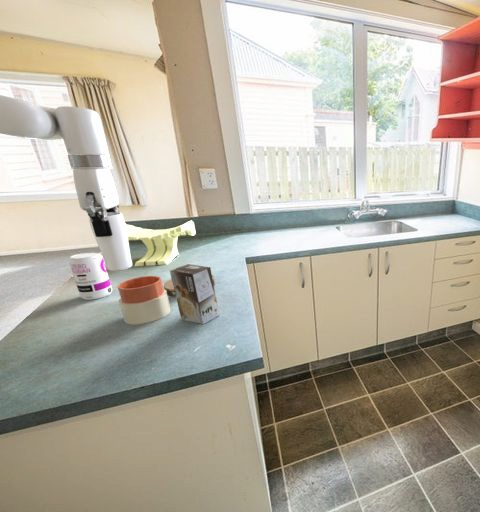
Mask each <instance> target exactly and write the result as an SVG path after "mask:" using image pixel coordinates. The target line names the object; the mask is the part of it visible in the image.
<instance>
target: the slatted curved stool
mask: <svg viewBox="0 0 480 512" xmlns="http://www.w3.org/2000/svg"><path fill="white" fill-rule="evenodd" d="M125 224H126V229H127V235H128V241H137V240H140V241H142V243H143V244H144V245H145V247H146V249H147V251H146V253H145V254H144V256H143V257H141V258H140V259H138V260H137V261H136V262H134V263H135V264H134V267H144V266H146V267H147V266H157V265H158V266H165V265H169V264H170V263H171V262H173V261H174V260H175V259H176V258H175V257H176V256H177V255H179V256H180V254H179V250H178V237H180V236H187V235H188V236H191V237H193V236H195V235H196V234H197V232H196V226H195V222H194V221H193V220H189V221H187V222H185V223H183V224H181V225H178V226H176V227H171V228H166V229H165V228H164V229H150V228H142V227H138V226H135V225H132V224H127V223H126V222H125ZM174 258H175V259H174ZM173 259H174V260H173ZM172 260H173V261H172Z"/></svg>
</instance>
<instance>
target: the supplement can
mask: <svg viewBox="0 0 480 512" xmlns="http://www.w3.org/2000/svg"><path fill="white" fill-rule="evenodd" d="M68 264H69V266H70V271H71V273H72V276H73V279H74V283H75V285H76V287H77V290H78V294H79V296H80V298H81V299H83V300H86V301H91V300H92V301H93V300H98V299H102V298H105V297H107V296H109V295H111V294H112V292H113V288H112V284H111V280H110V277H109V273H108V269H107V266H106V263H105V261H104V258H103V256H102V254H100V252H97V251H89V252H81V253H77V254H74V255H73V254H72V255H71V256H70V257H69V261H68Z"/></svg>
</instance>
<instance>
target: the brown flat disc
mask: <svg viewBox="0 0 480 512" xmlns="http://www.w3.org/2000/svg"><path fill="white" fill-rule="evenodd" d="M212 279H213V284H214V287H215V286H216V281H215V277H214V275H213V274H212ZM163 289H165V290H166V291H167V295H168V297H171V298H176V295H175V291H174V287H173V282H172V278H170V279H168V280H167V281H166V282H164V283H163Z"/></svg>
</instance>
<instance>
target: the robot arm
mask: <svg viewBox="0 0 480 512" xmlns="http://www.w3.org/2000/svg"><path fill="white" fill-rule="evenodd" d="M0 134H1V135H6V136H10V137H11V136H12V137H17V138H24V139H33V140H40V141H54V140H62V142H63V144H64V148H65V152H66V155H67V159H68V163H69V165H70V169H71V170H72V173H73V181H74V188H75V192H76V197H77V201H78V204H79V207H80V209H81V210H82V211H85V212H86V213H87V216H89V217H90V221H91V222H92V225H93V229H94V232H95V235H96V237H106V236H112V231H111V227H110V223H109V220H106V213H109V212H119V213H121V212H120V209H119V208H120V206H119V204H120V197H119V193H118V190H117V186H116V183H115V180H114V177H113V175H112V172H111V170H112V169H114V167H113V164H112V159H111V156H110V152H109V148H108V144H107V140H106V136H105V133H104V128H103V125H102V120H101V116H100V115H99V114H98V112H97V111H95V110H93V109H91V108H86V107H79V106H69V105H67V106H66V105H64V106H57V107H56V108H53V107H48V106H43V105H39V104H36V103H33V102H29V101H27V100H22V99H19V98H15V97H11V96H6V95H1V94H0ZM100 213H101V214H100ZM89 217H88V218H89ZM90 221H89V222H90Z"/></svg>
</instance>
